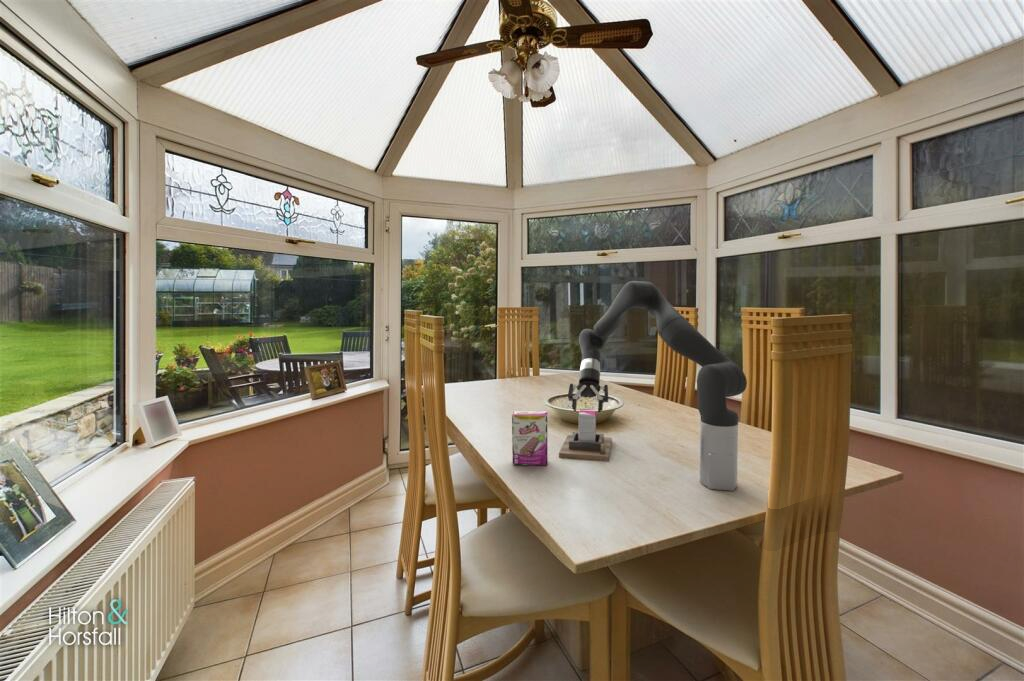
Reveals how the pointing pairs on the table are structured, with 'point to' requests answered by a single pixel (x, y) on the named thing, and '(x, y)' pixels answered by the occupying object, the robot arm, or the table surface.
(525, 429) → the candy bar box
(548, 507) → the table surface
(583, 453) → the nest plate
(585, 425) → the supplement box
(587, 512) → the table surface
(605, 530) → the table surface
